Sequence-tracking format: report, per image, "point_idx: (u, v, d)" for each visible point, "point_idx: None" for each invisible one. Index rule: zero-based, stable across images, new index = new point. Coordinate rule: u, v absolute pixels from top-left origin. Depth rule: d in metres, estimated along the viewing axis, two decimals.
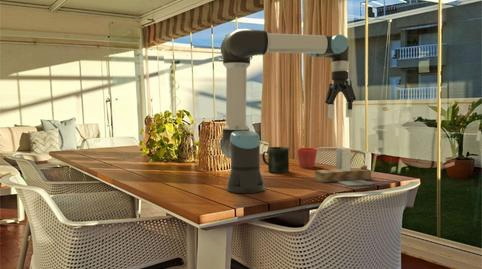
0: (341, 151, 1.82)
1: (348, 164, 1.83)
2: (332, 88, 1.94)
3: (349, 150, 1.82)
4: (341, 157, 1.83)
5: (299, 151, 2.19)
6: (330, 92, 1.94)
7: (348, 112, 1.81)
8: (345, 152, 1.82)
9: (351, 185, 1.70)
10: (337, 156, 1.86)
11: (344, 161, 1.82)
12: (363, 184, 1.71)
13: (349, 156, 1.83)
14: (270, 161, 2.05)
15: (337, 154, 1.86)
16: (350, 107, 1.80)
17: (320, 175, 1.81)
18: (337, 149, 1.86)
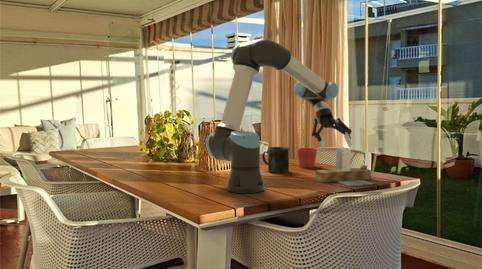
0: (341, 151, 1.82)
1: (348, 164, 1.83)
2: None
3: (349, 150, 1.82)
4: (341, 157, 1.83)
5: (299, 151, 2.19)
6: (316, 125, 1.98)
7: None
8: (345, 152, 1.82)
9: (351, 185, 1.70)
10: (337, 156, 1.86)
11: (344, 161, 1.82)
12: (363, 184, 1.71)
13: (349, 156, 1.83)
14: (270, 161, 2.05)
15: (337, 154, 1.86)
16: None
17: (320, 175, 1.81)
18: (337, 149, 1.86)
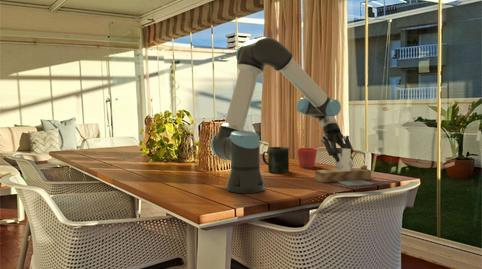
0: (341, 151, 1.82)
1: (348, 164, 1.83)
2: None
3: (349, 150, 1.82)
4: (341, 157, 1.83)
5: (299, 151, 2.19)
6: None
7: None
8: (345, 152, 1.82)
9: (351, 185, 1.70)
10: None
11: (344, 161, 1.82)
12: (363, 184, 1.71)
13: (349, 156, 1.83)
14: (270, 161, 2.05)
15: None
16: None
17: (320, 175, 1.81)
18: (337, 149, 1.86)
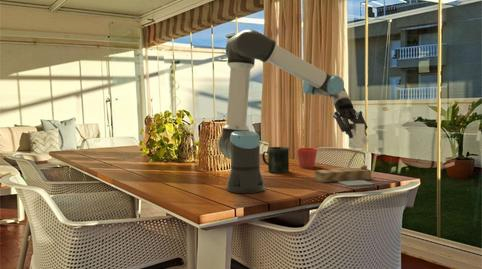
0: (355, 127, 1.71)
1: (362, 140, 1.71)
2: None
3: (363, 125, 1.71)
4: (355, 133, 1.71)
5: (299, 151, 2.19)
6: None
7: None
8: (359, 127, 1.71)
9: (351, 185, 1.70)
10: None
11: (358, 137, 1.71)
12: (363, 184, 1.71)
13: (363, 132, 1.71)
14: (270, 161, 2.05)
15: None
16: None
17: (320, 175, 1.81)
18: (350, 125, 1.75)
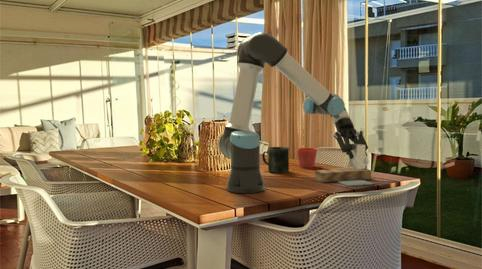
0: (356, 148, 1.71)
1: (362, 161, 1.72)
2: None
3: (364, 146, 1.72)
4: (355, 154, 1.72)
5: (299, 151, 2.19)
6: None
7: None
8: (359, 148, 1.71)
9: (351, 185, 1.70)
10: None
11: (359, 158, 1.72)
12: (363, 184, 1.71)
13: (364, 152, 1.72)
14: (270, 161, 2.05)
15: None
16: None
17: (320, 175, 1.81)
18: (351, 145, 1.75)
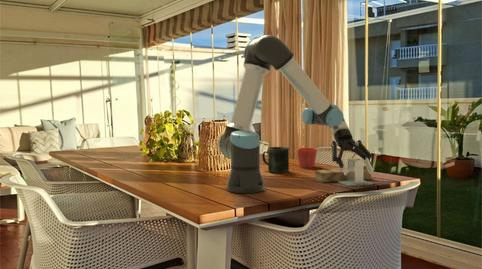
0: (354, 163, 1.72)
1: (360, 176, 1.72)
2: None
3: (362, 161, 1.72)
4: (353, 169, 1.72)
5: (299, 151, 2.19)
6: None
7: None
8: (358, 163, 1.72)
9: (351, 185, 1.70)
10: (349, 167, 1.76)
11: (357, 173, 1.72)
12: (363, 184, 1.71)
13: (362, 168, 1.72)
14: (270, 161, 2.05)
15: (349, 165, 1.76)
16: None
17: (320, 175, 1.81)
18: (349, 160, 1.76)
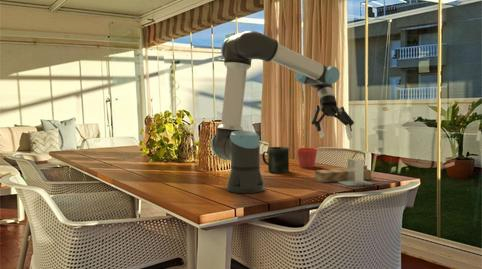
0: (354, 163, 1.72)
1: (360, 176, 1.72)
2: None
3: (362, 161, 1.72)
4: (353, 169, 1.72)
5: (299, 151, 2.19)
6: None
7: None
8: (358, 163, 1.72)
9: (351, 185, 1.70)
10: (349, 167, 1.76)
11: (357, 173, 1.72)
12: (363, 184, 1.71)
13: (362, 168, 1.72)
14: (270, 161, 2.05)
15: (349, 165, 1.76)
16: None
17: (320, 175, 1.81)
18: (349, 160, 1.76)
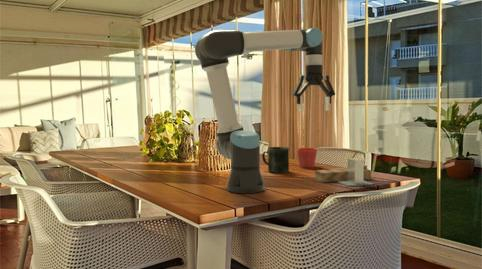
0: (354, 163, 1.72)
1: (360, 176, 1.72)
2: None
3: (362, 161, 1.72)
4: (353, 169, 1.72)
5: (299, 151, 2.19)
6: None
7: None
8: (358, 163, 1.72)
9: (351, 185, 1.70)
10: (349, 167, 1.76)
11: (357, 173, 1.72)
12: (363, 184, 1.71)
13: (362, 168, 1.72)
14: (270, 161, 2.05)
15: (349, 165, 1.76)
16: None
17: (320, 175, 1.81)
18: (349, 160, 1.76)
